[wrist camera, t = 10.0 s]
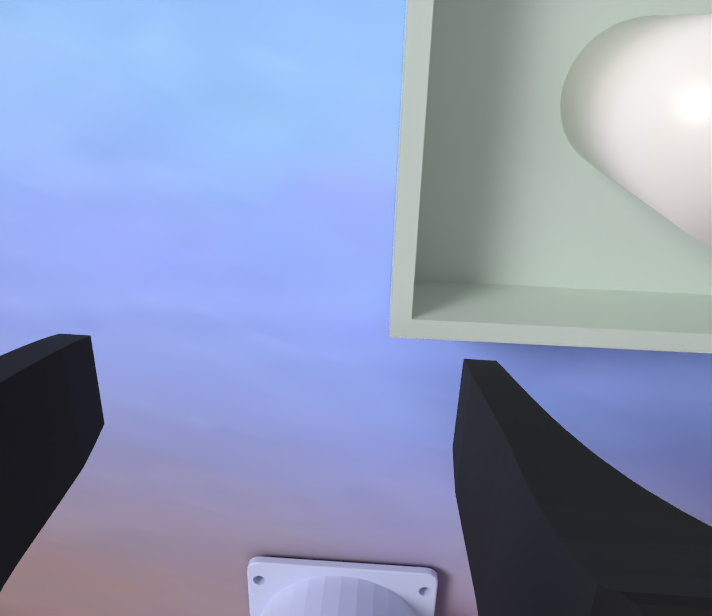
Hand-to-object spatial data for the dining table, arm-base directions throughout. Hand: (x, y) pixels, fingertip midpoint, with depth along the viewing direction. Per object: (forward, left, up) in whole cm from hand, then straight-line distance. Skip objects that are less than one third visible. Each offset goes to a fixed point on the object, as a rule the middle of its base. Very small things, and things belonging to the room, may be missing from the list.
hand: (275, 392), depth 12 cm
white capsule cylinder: (+5, -9, -9) cm, 13 cm away
